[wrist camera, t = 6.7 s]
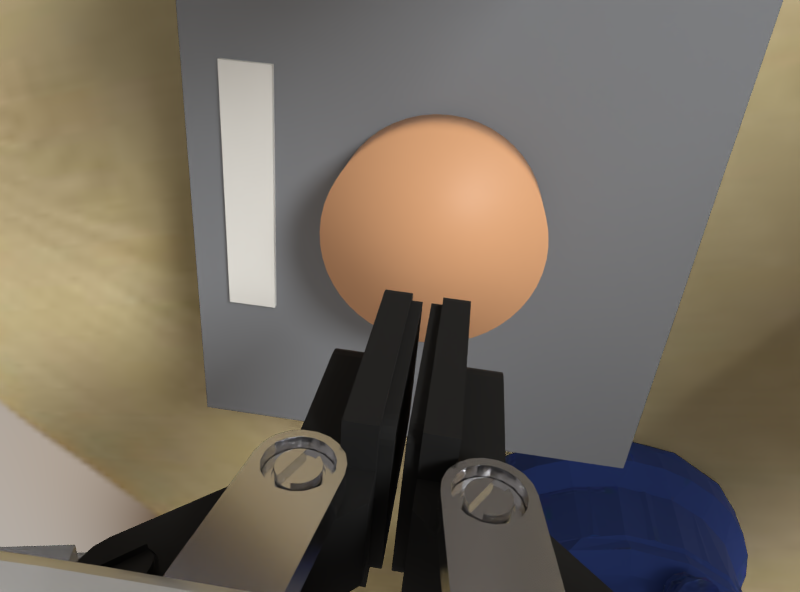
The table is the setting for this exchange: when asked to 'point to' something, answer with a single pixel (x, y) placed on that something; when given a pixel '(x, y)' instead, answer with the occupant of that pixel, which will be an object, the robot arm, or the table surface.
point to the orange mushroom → (436, 221)
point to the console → (507, 115)
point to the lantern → (641, 521)
